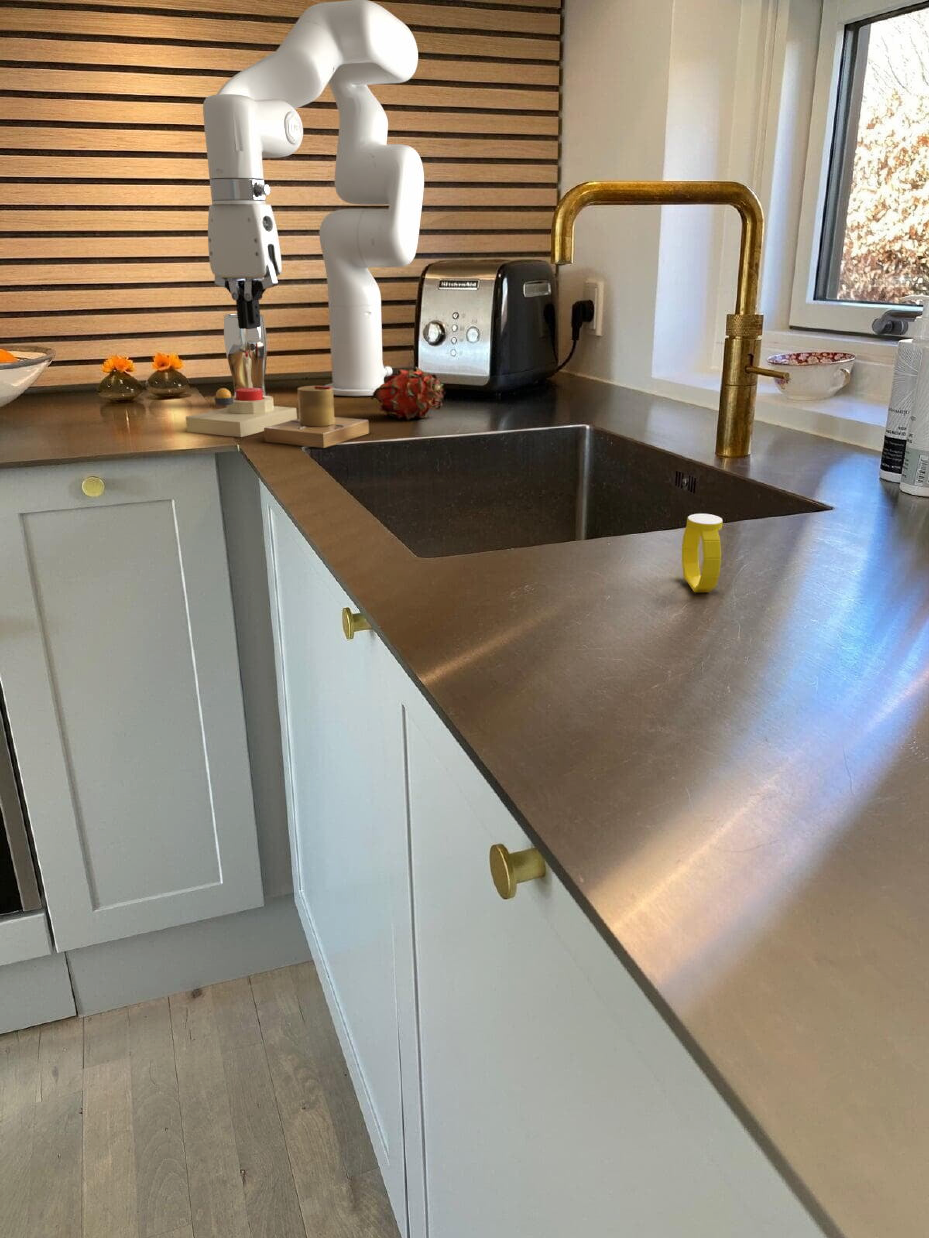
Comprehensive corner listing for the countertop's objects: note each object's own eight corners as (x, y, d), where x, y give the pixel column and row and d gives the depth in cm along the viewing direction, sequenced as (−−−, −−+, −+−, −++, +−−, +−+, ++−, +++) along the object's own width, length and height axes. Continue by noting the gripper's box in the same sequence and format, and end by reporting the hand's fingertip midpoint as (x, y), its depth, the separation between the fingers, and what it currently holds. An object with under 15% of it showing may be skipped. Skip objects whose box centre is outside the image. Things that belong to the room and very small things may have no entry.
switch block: (246, 417, 152) (244, 392, 150) (297, 422, 148) (295, 396, 146) (187, 431, 140) (184, 404, 139) (240, 437, 136) (238, 409, 135)
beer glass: (276, 403, 165) (270, 313, 159) (264, 409, 158) (257, 316, 153) (237, 402, 165) (230, 313, 160) (224, 409, 159) (216, 316, 153)
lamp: (223, 402, 141) (221, 386, 140) (236, 403, 140) (235, 387, 139) (211, 404, 139) (210, 388, 138) (225, 406, 138) (224, 390, 137)
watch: (670, 575, 81) (677, 508, 78) (702, 574, 81) (709, 507, 79) (691, 600, 75) (698, 528, 73) (725, 599, 75) (733, 527, 73)
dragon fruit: (451, 428, 152) (378, 439, 152) (444, 390, 156) (373, 402, 156) (447, 390, 145) (370, 402, 144) (439, 351, 149) (365, 363, 149)
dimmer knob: (293, 425, 134) (290, 387, 132) (311, 419, 139) (309, 382, 137) (323, 427, 133) (321, 389, 131) (341, 421, 137) (339, 384, 135)
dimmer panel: (312, 427, 143) (312, 413, 143) (369, 433, 139) (368, 418, 139) (264, 441, 133) (263, 426, 133) (323, 448, 129) (323, 432, 129)
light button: (247, 398, 147) (246, 387, 146) (268, 400, 145) (267, 388, 145) (231, 402, 144) (230, 390, 143) (252, 404, 142) (251, 392, 141)
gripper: (296, 194, 134) (305, 328, 141) (214, 195, 140) (226, 324, 147) (264, 192, 128) (275, 333, 135) (179, 194, 134) (193, 328, 141)
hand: (249, 328), depth 141 cm, fingers closed
